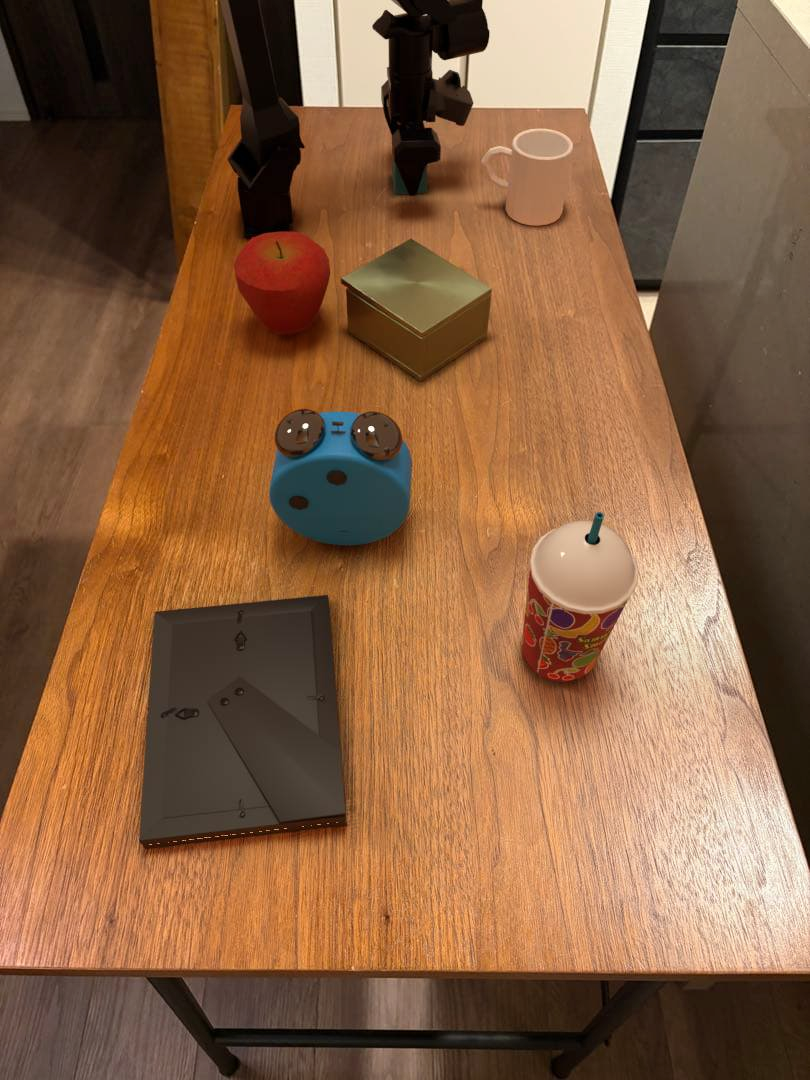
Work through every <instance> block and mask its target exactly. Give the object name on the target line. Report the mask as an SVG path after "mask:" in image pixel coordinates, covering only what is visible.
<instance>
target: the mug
mask: <svg viewBox="0 0 810 1080" xmlns="http://www.w3.org/2000/svg"><path fill="white" fill-rule="evenodd" d="M573 150H574V144H573V141H572V140H571V138H570V137H569V136H567V135H566V134H564V133H562V132H560V131H557V130H554V129H550V128H540V127H539V128H530V129H527V130H523V131H521V132H519V133H518V134H516V135H515V136H514V137H513V139H512V144H511V148H509V147H506V146H503V145H498V146H494V147H491V148H489V149H488V150H487V152H486V153H485V154H484V156H483V158H482V159H481V165H482V167H483V170H484V172H485V176H486V178H487V180H488V181H489V182H491V183H492V184H494V185H495V186H497V187H499V188H502V189H504V190H506V196H505V209H504V210H505V212H506V214H507V216H508V217H509V218H510V219H512V221H515V222H517V223H519V224H522V225H526V226H533V227H534V226H536V227H541V226H547V225H550V224H552V223H555V222H556V221H557V220H559V219H560V217H561V216H562V214H563V210H564V204H565V198H566V192H567V186H568V181H569V175H570V169H571V163H572V156H573ZM502 155H504V156H507V157H509V158H510V162H509V171H508V178H507V179H508V180H504V179H502V178H500V177H499V176H498V175H496V174H495V173H494V171H493V168H492V165H491V164H490V163H491V162H492V160H493V159H494V158H495V157H498V156H502Z"/></svg>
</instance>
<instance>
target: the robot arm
mask: <svg viewBox="0 0 810 1080" xmlns="http://www.w3.org/2000/svg"><path fill="white" fill-rule="evenodd" d="M390 1H392V3H393V4H395V5H396V6H398V7H399V8H400V9H402V11H404V13H399V14H395V15H394V14H393V13H391V12H390V11H389V10H388V9H384V11H383V12H382V14H381V15H380V16H379V17H378V18H376V20H375V21H374V23H372V25H371V27H372V30H373V31H375V32H376V33H377V34H378V35H379V36H380V37H382V39H383V40H388V66H387V67H386V77H387V80H386V81H385V82H384V83H383V84H382V85H381V87H380V98H381V105H382V110H383V115H384V118H385V121H386V124H387V127H388V129H389V132H390V134H391V155H392V154H393V158H394V162H395V164H396V166H397V168H398V170H399V173H400V175H401V177H402V180H403V182H404V184H405V187H406V189H407V192H408V194H407V195H408V196H409V197H413V196H415V197H416V196H417V195H418V193H417V192H418V189H419V185H420V182H421V179H422V176H423V173H424V170H425V167H426V166H427V167H428V165H430V164H434V163H438V162H440V160H441V155H442V154H441V150H442V146H441V142H440V137H439V135H438V133H437V132H436V131H435V129H433V128H432V127H426V125H425V123H436V117H438V118H440V119H443V120H447V121H449V122H452V123H455V125H457V126H460V127H464V126H465V125H466V124H467V120H468V118H469V115H470V113H471V111H472V108H473V106H474V100H473V97H472V94H471V92H470V90H468V88H467V87H466V85H462V82H461V81H462V80H461V76H460V74H459V72H458V71H455V70H452V69H448V70H447V71H446V72H445V74H443V75H442V76H441V77H438V78H437V79H436V78H434V76H433V74H434V73H433V53H434V54H437V56H438V57H439V59H441V60H442V61H449V60H452V59H457V58H461V57H467V56H470V55H475V54H479V53H483V52H484V51H486V49H487V47H488V45H489V42H490V33H491V32H490V29H489V25H488V19H487V15H486V13H485V10H484V8H483V2H484V0H390ZM219 2H220V5H221V10H222V15H223V19H224V23H225V27H226V32H227V37H228V41H229V45H230V49H231V54H232V58H233V62H234V66H235V70H236V74H237V79H238V83H239V88H240V92H241V96H242V103H241V110H240V115H239V123H240V134H241V135H240V136H241V138H240V140H239V141H238V142H237V143H236V145H235V147H234V148H233V150H232V151H231V152H230V154H229V156H228V157H227V162H228V163H229V165H230V167H231V169H232V171H233V172H234V173H235V174H236V175H237V176H238V177H237V194H238V201H239V208H240V214H241V220H242V237H244V238H246V239H247V238H253V237H256V236H259V235H261V234H264V233H272V232H292V231H291V225H293V224H294V213H293V204H292V195H291V194H292V193H291V185H292V181H293V176H294V172H295V171H296V169H297V167H298V166H299V165H300V164H301V160H302V151H301V149H305V148H306V146H305V144H304V142H303V141H302V138H301V132H300V131H301V126H300V125H301V124H300V119H299V116H298V115H297V114H296V112H295V111H294V110H292V108H291V107H290V106H289V105H288V104H287V102H286V101H285V100H284V99H283V98H282V97H279V94H278V90H277V89H278V88H277V85H276V79H275V73H274V69H273V65H272V59H271V55H270V50H269V44H268V39H267V34H266V29H265V24H264V19H263V14H262V10H261V4H260V0H219ZM424 122H425V123H424Z"/></svg>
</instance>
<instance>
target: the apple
mask: <svg viewBox="0 0 810 1080" xmlns="http://www.w3.org/2000/svg"><path fill="white" fill-rule="evenodd" d="M233 269H234V274H235V275H234V276H235V280H236V284H237V289H238V292H239V293H240V294H241V296H242V298H243V299H244V301H245V302H246V303H247V305H248V306H249V308H250V310H251V311H252V312H253V314H254V316H256V318H257V319H258V321H259V322H260V323H261V324H262V326H263V327H264V328H266V330H268V331H269V332H271V333H276V334H281V335H285V336H286V335H293V334H296V333H299V332H301V331H304V330H305V329H308V328H309V327H310V326H311V325H312V324H313V323H314V322H315V320H316V318H317V315H318V314H319V311H320V309H321V307H322V304H323V302H324V298H325V295H326V292H327V289H328V286H329V282H330V277H331V267H330V259H329V257H328V255H327V252H326V251H325V249H324V248H323V247H322V246H321V245H319V244H318V243H317V242H315V241H314V240H313V239H312V238H310V237H309V236H308V235H306V234H304V233H301V232H296V231H291V232H272V233H264V234H261V235H259V236H256V237H251V238H250V239H249V240H248V242H246V244H245V245H243V247H242V249H241V250H240V251H239V252H238V254H237V255H236V258H235V261H234V262H233Z"/></svg>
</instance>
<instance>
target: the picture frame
mask: <svg viewBox="0 0 810 1080" xmlns="http://www.w3.org/2000/svg"><path fill="white" fill-rule="evenodd" d="M333 648H334V645H333V633H332V621H331V610H330V599H329V595H328V594H323V595H312V596H303V597H292V598H291V597H290V598H281V599H271V600H259V601H250V602H249V601H248V602H239V603H229V604H220V605H208V606H198V607H187V608H178V609H177V608H176V609H168V610H167V609H166V610H158V611H154V615H153V632H152V646H151V661H150V674H149V689H148V703H147V704H148V705H147V718H146V732H145V746H144V747H145V748H144V761H143V776H142V790H141V791H142V792H141V805H140V822H139V834H138V835H139V836H138V842H139V843H140V844H141V846H142V845H143V846H142V847H143V849H144V850H152V849H160V848H169V847H178V846H187V845H194V844H195V845H196V844H203V843H211V842H219V841H228V840H236V839H246V838H254V837H263V836H271V835H277V834H278V835H280V834H288V833H297V832H305V831H312V830H314V831H315V830H322V829H329V828H330V829H331V828H338V827H339V828H340V827H347V826H348V819H347V807H346V805H347V804H346V794H345V781H344V780H345V779H344V770H343V757H342V746H341V745H342V744H341V732H340V721H339V705H338V695H337V683H336V682H337V681H336V669H335V658H334V649H333ZM345 821H346V822H345ZM336 822H338V823H336ZM327 823H329V824H327ZM317 824H321V825H317ZM311 825H312V826H311ZM302 826H304V827H302ZM284 828H287V829H284ZM274 829H279V830H274ZM266 830H270V831H266ZM259 831H262V832H259ZM250 832H253V833H250ZM241 833H245V834H241ZM230 834H231V835H230ZM232 834H236V835H232ZM221 835H228V836H221ZM215 836H219V837H215ZM204 837H211V838H204ZM197 838H203V839H197ZM189 839H194V840H189ZM182 840H186V841H182ZM173 841H177V842H173ZM168 842H169V843H168ZM157 843H160V844H157ZM149 844H152V845H149Z"/></svg>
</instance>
